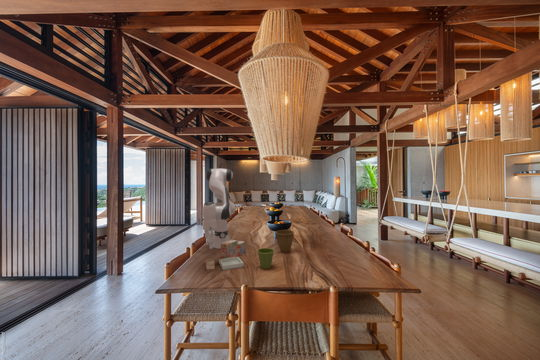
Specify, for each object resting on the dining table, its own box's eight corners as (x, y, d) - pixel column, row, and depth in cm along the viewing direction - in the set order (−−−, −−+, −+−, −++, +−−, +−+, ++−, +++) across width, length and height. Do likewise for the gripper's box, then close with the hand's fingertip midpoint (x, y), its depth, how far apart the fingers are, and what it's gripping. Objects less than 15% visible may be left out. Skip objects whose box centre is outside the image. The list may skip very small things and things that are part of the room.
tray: (218, 263, 169) (218, 259, 169) (238, 260, 174) (238, 256, 174) (222, 270, 156) (222, 265, 156) (243, 267, 161) (243, 262, 161)
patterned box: (239, 251, 196) (239, 236, 196) (245, 253, 192) (245, 237, 192) (220, 259, 178) (220, 242, 178) (226, 260, 175) (226, 244, 174)
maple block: (205, 267, 162) (205, 260, 162) (213, 266, 164) (213, 259, 164) (206, 270, 157) (206, 262, 157) (214, 268, 159) (214, 261, 159)
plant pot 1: (258, 271, 154) (258, 253, 154) (256, 264, 166) (256, 248, 166) (276, 269, 156) (275, 252, 156) (273, 263, 168) (273, 247, 168)
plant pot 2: (277, 248, 204) (277, 229, 204) (294, 249, 201) (294, 230, 201) (274, 253, 190) (274, 233, 190) (293, 254, 187) (292, 234, 187)
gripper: (217, 228, 152) (217, 250, 152) (212, 223, 171) (212, 242, 171) (207, 229, 150) (207, 251, 149) (202, 224, 168) (203, 243, 168)
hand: (209, 246), depth 160 cm, fingers open, 8 cm apart
